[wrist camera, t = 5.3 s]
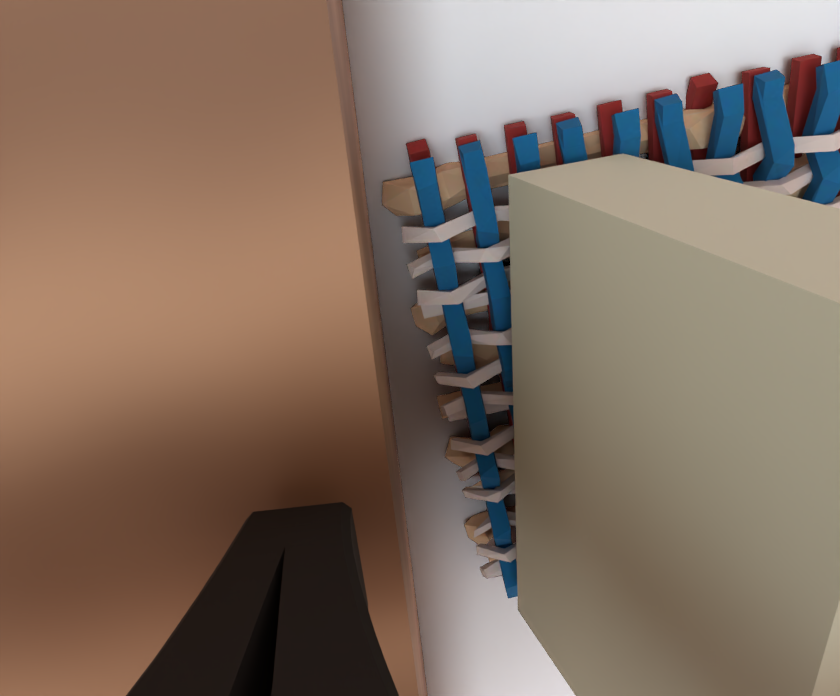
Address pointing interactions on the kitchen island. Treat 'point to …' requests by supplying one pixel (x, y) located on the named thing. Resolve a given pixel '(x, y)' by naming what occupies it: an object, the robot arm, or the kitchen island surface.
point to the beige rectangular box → (676, 430)
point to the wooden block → (180, 324)
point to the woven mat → (618, 134)
